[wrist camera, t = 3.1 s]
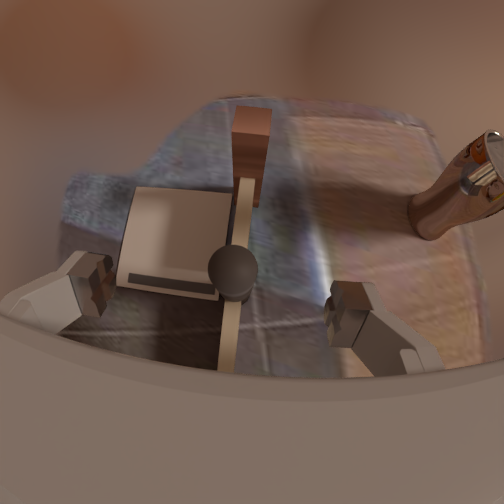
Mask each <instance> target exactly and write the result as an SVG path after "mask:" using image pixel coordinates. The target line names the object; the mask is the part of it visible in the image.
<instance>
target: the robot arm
mask: <svg viewBox="0 0 504 504" xmlns="http://www.w3.org/2000/svg"><path fill="white" fill-rule="evenodd" d="M112 267H113V261H112V257H111V256H109V255H106V254H100V253H93V252H87V251H80V250H78V251H75V252H74V253H73V254H72V255H71V256H70V257H69V258H68V259H67V261H66V262H65V263H64V264H63V265H62V266H61V267H60V268H59V269H58V270H57V271H56V272H52V273H49V274H47V275H45V276H43V277H41V278H38V279H37V280H34V281H32V282H30V283H28V284H26V285H24V286H21V287H19V288H17V289H15V290H13V291H11V292H9V293H8V294H6V296H5V297H4V298H3V299H2V300H1V301H0V504H504V358H503V359H499V360H495V361H490V362H486V363H481V364H476V365H471V366H465V367H459V368H453V369H447V370H446V369H445V367H444V365H443V362H442V360H441V358H440V356H439V354H438V351H437V349H436V347H435V346H434V345H433V344H431V343H430V342H429V341H428V340H426V339H425V338H424V337H422V336H421V335H420V334H419V333H417V332H416V331H415V330H414V329H412V328H411V327H410V326H408V325H407V324H406V323H405V322H403V321H402V320H401V319H399V318H398V317H397V316H396V315H394V314H393V313H392V312H390V311H386V308H385V306H384V304H383V302H382V300H381V297H380V295H379V293H378V291H377V289H376V287H375V285H374V284H373V283H371V282H349V281H335V280H334V281H333V283H332V285H331V288H330V292H331V296H330V297H329V298H328V299H327V300H326V303H325V307H324V322H325V325H326V326H328V327H329V329H328V331H327V337H328V341H329V346H330V347H341V348H352V350H353V351H354V353H355V354H356V355H357V356H358V357H359V359H360V360H361V361H362V362H363V363H364V364H365V366H366V367H367V368H368V369H369V370H370V372H371V373H372V374H373V375H374V376H375V377H354V378H303V377H280V376H265V375H253V374H242V373H232V372H223V371H215V370H208V369H200V368H194V367H187V366H181V365H175V364H169V363H164V362H159V361H153V360H149V359H144V358H139V357H134V356H130V355H126V354H121V353H117V352H113V351H109V350H105V349H101V348H98V347H94V346H90V345H87V344H83V343H80V342H77V341H73V340H70V339H67V338H64V337H61V336H58V335H55V334H57V333H58V332H59V331H61V330H62V329H63V328H65V327H66V326H68V325H69V324H70V323H72V322H73V321H74V320H76V319H77V318H79V317H80V316H81V315H82V314H84V315H88V316H93V317H98V318H100V317H101V315H102V314H103V312H104V310H105V309H106V307H107V304H106V301H108V300H110V299H112V297H113V295H114V294H115V290H116V276H115V274H114V273H113V271H112V270H111V268H112Z"/></svg>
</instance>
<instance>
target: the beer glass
mask: <svg viewBox="0 0 504 504" xmlns="http://www.w3.org/2000/svg"><path fill="white" fill-rule="evenodd" d="M503 209H504V136H502V135H501V134H500V133H498V132H497V131H495V130H487V131H486V132H485V133H484V134H483V135H481V136H480V137H478V138H477V139H476V140H474V141H473V142H471V143H470V144H469V145H467V146H466V147H465V148H464V149H463V150H462V151H461V152H459V154H458V155H456V156H455V157H454V158H453V160H452V161H451V162H450V163H449V164H448V166H447V167H446V168H445V170H444V171H443V172H442V174H441V175H440V176H439V178H438V179H437V181H436V182H435V183H434V184H433V185H432V186H431V187H430V188H429V189H427V190H426V191H423V192H421V193H419V194H416V195H415V196H413V197H412V199H411V200H410V202H409V205H408V216H409V220H410V223H411V225H412V227H413V228H414V230H415V231H416V232H417V233H418V234H419V235H420V236H421V237H422V238H424V239H426V240H436V239H438V238H440V237H441V236H442V235H443V234H445V233H446V232H447V231H448V230H449V229H451V228H453V227H455V226H458V225H462V224H466V223H471V222H475V221H479V220H482V219H485V218H488V217H490V216H492V215H494V214H496V213H498V212H499V211H501V210H503Z"/></svg>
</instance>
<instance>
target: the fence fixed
mask: <svg viewBox="0 0 504 504" xmlns="http://www.w3.org/2000/svg"><path fill="white" fill-rule="evenodd" d="M257 273H258V265H257V261H256V259H255V257H254V255H253V254H252V253H251V252H250V251H249V250H248V249H246V248H245V247H243V246H240V245H233V244H232V245H226V246H223V247H221V248H219V249H218V250H216V251H215V252H214V253H213V255H212V256H211V258H210V260H209V263H208V276H209V279H210V281H211V282H212V284H213V285H214V287H215V288H216V289H217V291H218V292H219V293H220V294H221V296H222V297H223V298H224V300H225V305H224V313H223V322H222V331H221V340H220V349H219V359H218V368H217V371H223V372H232V373H234V366H235V356H236V347H237V338H238V329H239V320H240V311H241V305H243V304H244V303H245V302H246V301H247V300H248V298H249V296H250V293H251V291H252V288H253V285H254V282H255V280H256V277H257Z"/></svg>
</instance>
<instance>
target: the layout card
mask: <svg viewBox="0 0 504 504" xmlns="http://www.w3.org/2000/svg"><path fill="white" fill-rule="evenodd" d="M231 201H232V194H229V193H218V192H207V191H196V190H183V189H169V188H154V187H136V190H135V194H134V198H133V201H132V205H131V209H130V213H129V217H128V222H127V226H126V230H125V235H124V240H123V244H122V249H121V254H120V259H119V265H118V270H117V276H116V286H121V287H127V288H133V289H139V290H145V291H151V292H158V293H164V294H171V295H178V296H185V297H192V298H200V299H207V300H215V301H218V299H219V292H218V291H217V289H216V288H215V287H214V285H213V284H212V282H211V281H210V279H209V276H208V263H209V260H210V258H211V256H212V255H213V253H214V252H215V251H216V250H218V249H219V248H221V247H223V246H225V244H226V237H227V229H228V222H229V215H230V208H231Z"/></svg>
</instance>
